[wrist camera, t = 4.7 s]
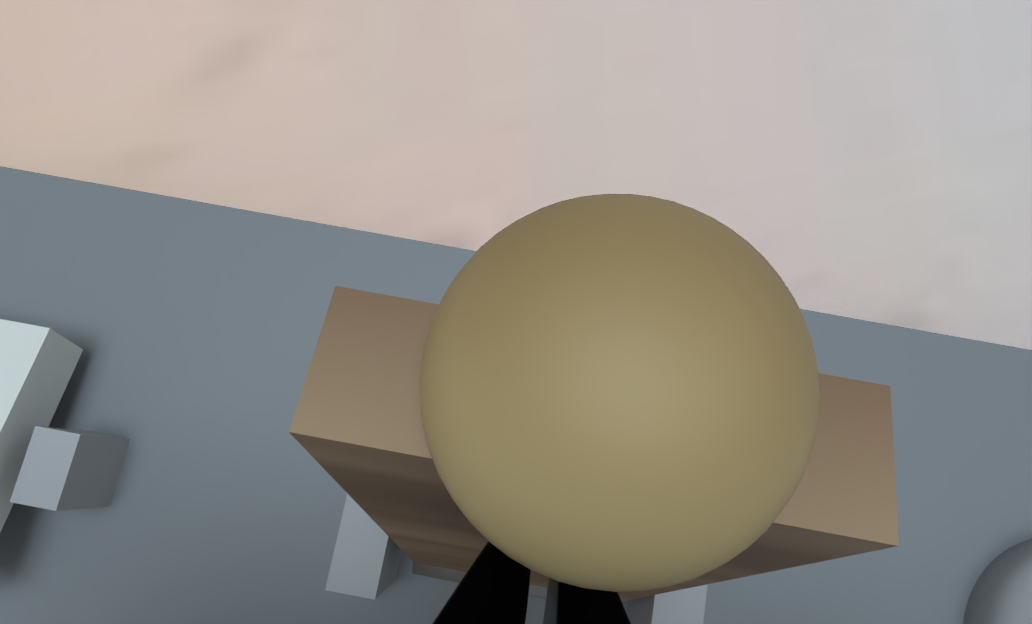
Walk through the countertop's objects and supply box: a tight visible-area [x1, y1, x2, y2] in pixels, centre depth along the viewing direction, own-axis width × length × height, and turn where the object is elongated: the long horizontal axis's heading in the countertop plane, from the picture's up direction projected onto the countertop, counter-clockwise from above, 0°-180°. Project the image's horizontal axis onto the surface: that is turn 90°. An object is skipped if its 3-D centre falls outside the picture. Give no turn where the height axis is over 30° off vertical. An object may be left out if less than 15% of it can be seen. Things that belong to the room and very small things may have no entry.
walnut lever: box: [289, 194, 899, 601], centre depth 10 cm, size 3×4×14 cm, turn 80°
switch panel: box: [0, 166, 1032, 624], centre depth 16 cm, size 14×38×4 cm, turn 80°
